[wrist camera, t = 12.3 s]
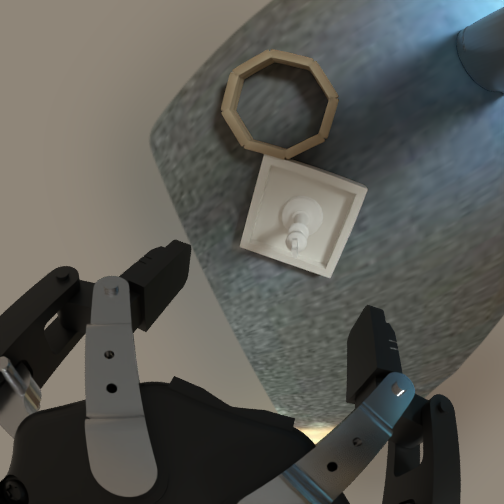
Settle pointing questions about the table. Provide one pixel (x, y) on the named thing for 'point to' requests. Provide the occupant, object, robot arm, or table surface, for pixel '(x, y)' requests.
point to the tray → (311, 185)
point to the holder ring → (256, 65)
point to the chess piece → (300, 222)
